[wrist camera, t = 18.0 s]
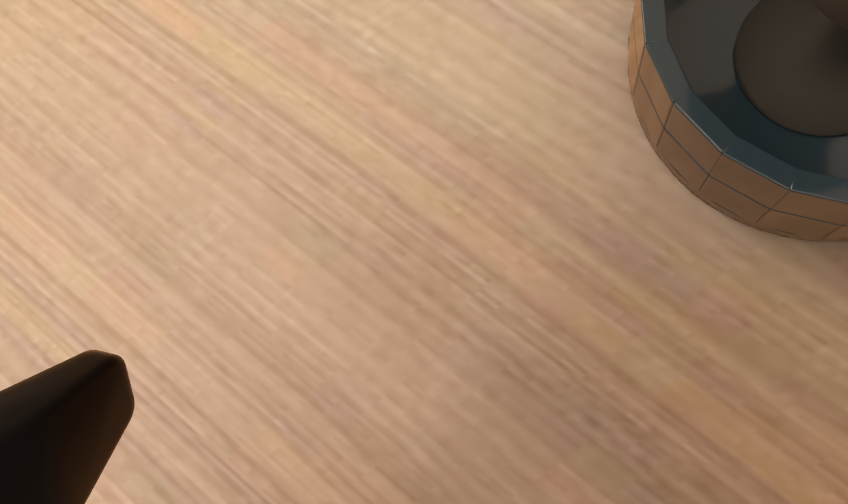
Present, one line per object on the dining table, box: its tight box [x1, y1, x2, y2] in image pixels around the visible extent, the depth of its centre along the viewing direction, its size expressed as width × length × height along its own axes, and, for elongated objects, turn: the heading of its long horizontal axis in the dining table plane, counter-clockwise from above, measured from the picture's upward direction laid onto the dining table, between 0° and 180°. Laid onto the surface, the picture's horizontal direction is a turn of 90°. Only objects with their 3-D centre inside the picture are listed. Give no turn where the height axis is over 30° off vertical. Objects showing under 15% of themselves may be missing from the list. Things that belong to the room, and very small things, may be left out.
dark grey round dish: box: [628, 0, 848, 242], centre depth 21 cm, size 11×11×4 cm
